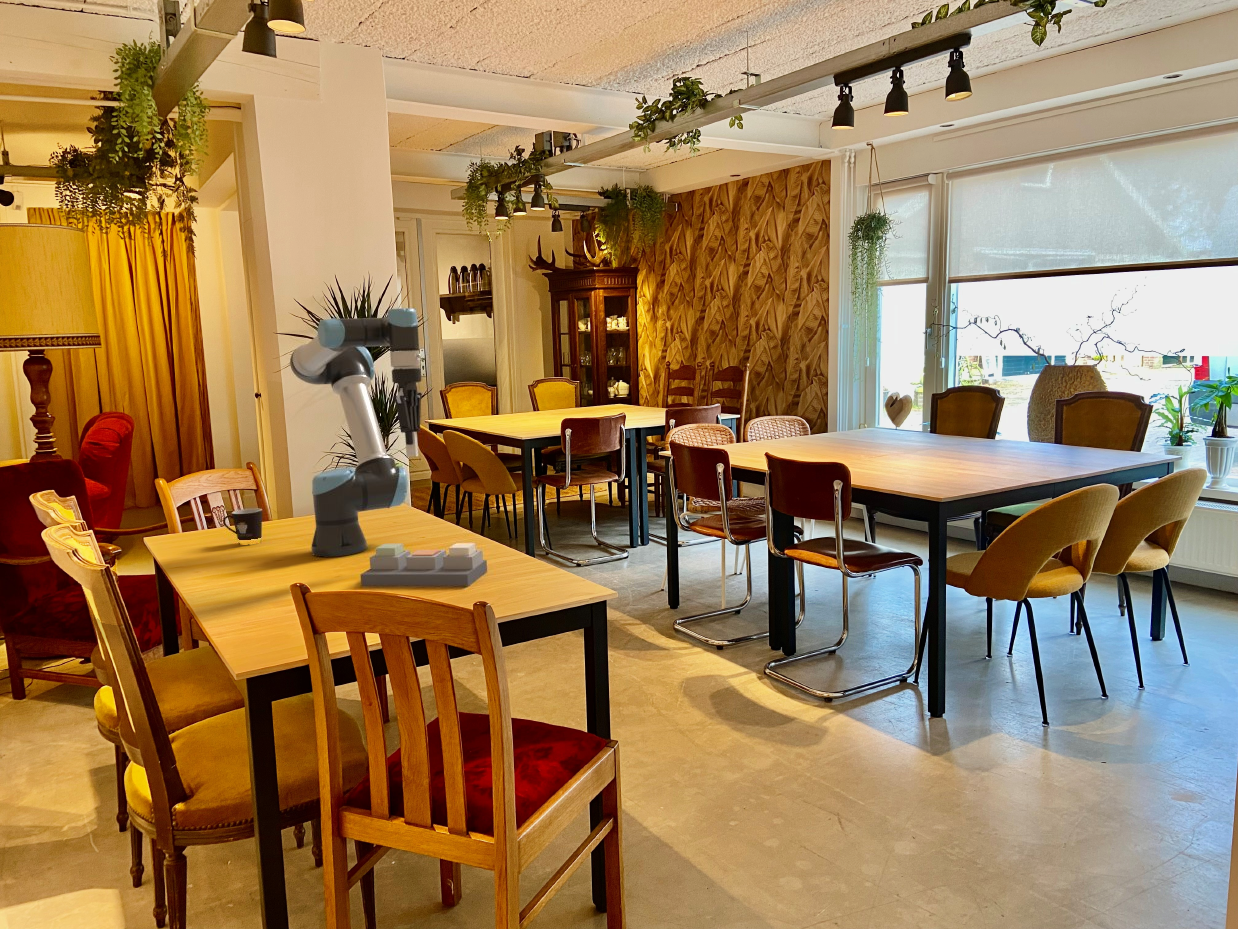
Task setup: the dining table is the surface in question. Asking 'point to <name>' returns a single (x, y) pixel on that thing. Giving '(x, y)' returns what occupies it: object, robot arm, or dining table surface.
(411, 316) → the robot arm
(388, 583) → the key panel
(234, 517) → the coffee mug
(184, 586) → the dining table surface
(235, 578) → the dining table surface
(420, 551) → the terracotta key
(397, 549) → the sage key
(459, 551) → the cream key
